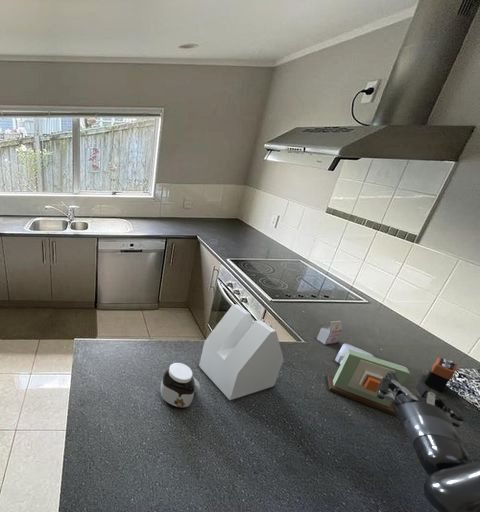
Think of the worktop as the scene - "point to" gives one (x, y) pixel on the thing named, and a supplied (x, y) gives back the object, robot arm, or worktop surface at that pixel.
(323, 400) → the worktop surface
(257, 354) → the white grooved wedge block
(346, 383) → the wall panel
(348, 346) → the charger
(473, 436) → the worktop surface
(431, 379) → the battery
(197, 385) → the spread jar
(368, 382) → the switch
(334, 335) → the small printed carton
